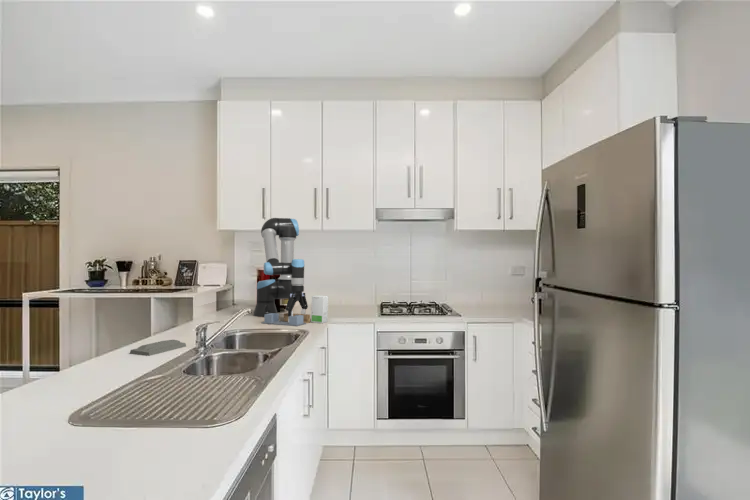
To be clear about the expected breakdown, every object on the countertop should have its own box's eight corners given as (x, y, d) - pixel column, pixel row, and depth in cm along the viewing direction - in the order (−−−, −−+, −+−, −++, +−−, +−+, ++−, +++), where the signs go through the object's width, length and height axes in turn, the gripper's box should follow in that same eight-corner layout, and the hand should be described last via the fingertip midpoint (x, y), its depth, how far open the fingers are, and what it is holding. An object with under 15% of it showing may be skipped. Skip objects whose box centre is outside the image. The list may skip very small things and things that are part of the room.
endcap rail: (271, 321, 267) (271, 312, 268) (306, 323, 258) (306, 315, 258) (261, 323, 258) (261, 314, 258) (296, 326, 249) (296, 317, 249)
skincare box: (310, 322, 265) (310, 296, 265) (316, 321, 271) (316, 295, 271) (323, 323, 261) (323, 296, 262) (328, 321, 268) (328, 295, 268)
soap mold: (128, 355, 174) (129, 346, 174) (168, 346, 193) (168, 337, 193) (149, 357, 170) (149, 348, 171) (187, 347, 189) (187, 339, 189)
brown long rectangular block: (286, 321, 270) (287, 313, 270) (310, 323, 264) (310, 314, 264) (283, 322, 267) (283, 313, 267) (306, 323, 261) (307, 315, 261)
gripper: (303, 284, 279) (302, 318, 278) (279, 285, 256) (279, 322, 255) (313, 284, 276) (313, 319, 275) (291, 285, 253) (290, 323, 252)
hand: (296, 321), depth 265 cm, fingers open, 13 cm apart
